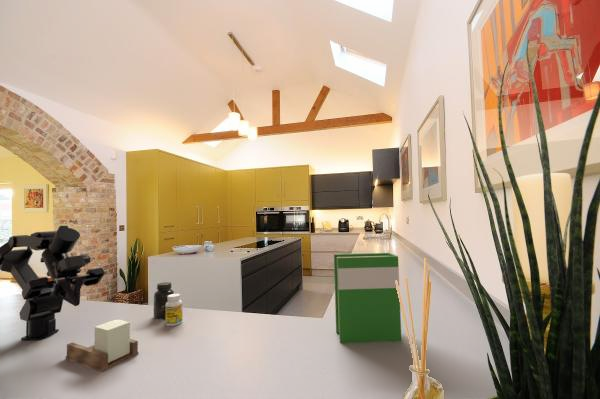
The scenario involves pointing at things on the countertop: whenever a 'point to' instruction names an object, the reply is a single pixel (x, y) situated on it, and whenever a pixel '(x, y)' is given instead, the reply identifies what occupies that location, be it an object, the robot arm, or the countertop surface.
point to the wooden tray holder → (97, 356)
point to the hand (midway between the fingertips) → (77, 304)
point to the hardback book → (367, 297)
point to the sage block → (113, 339)
